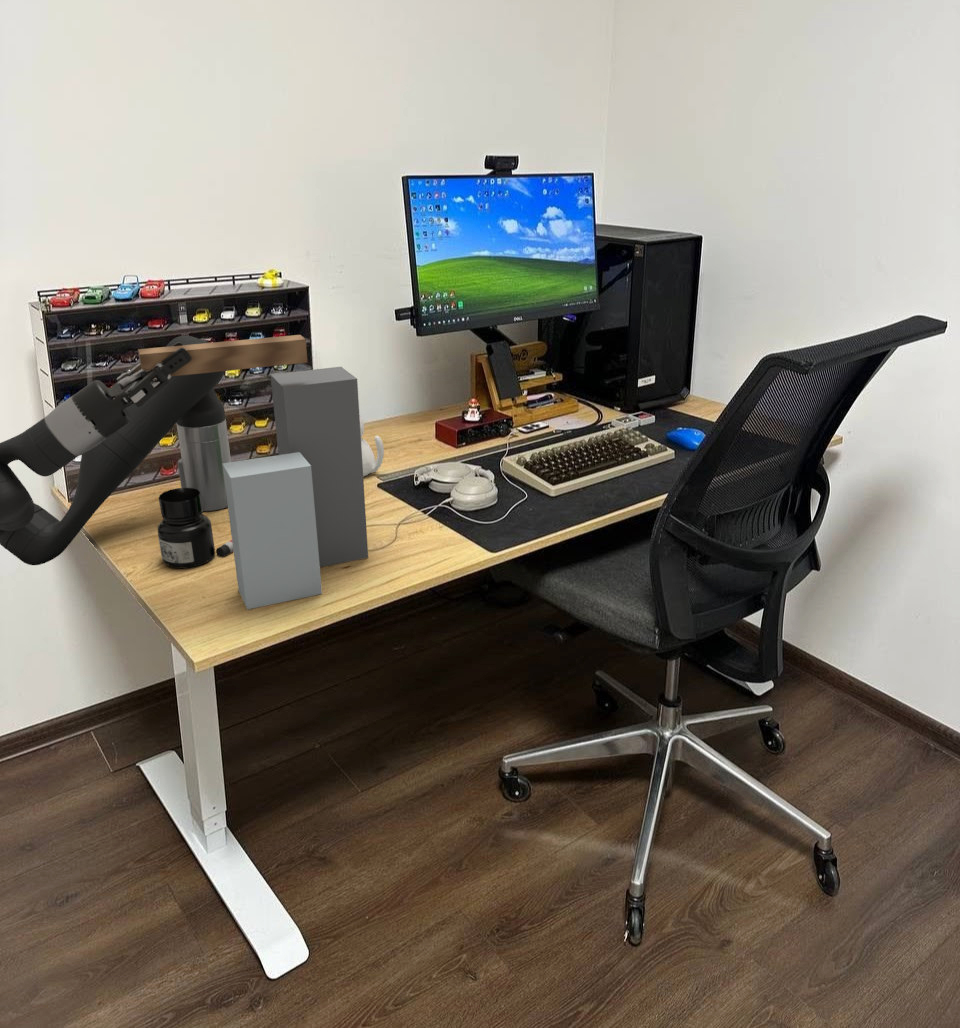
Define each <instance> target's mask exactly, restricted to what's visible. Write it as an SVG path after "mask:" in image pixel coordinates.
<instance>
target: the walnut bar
mask: <svg viewBox="0 0 960 1028" xmlns="http://www.w3.org/2000/svg"><path fill="white" fill-rule="evenodd" d="M179 348H185V350H186V351H187V352H188V353H189V355H190V356H191V361H190V362H188V363H187V364H186V365H184V366H183V367H181V368H180V369H178V370H177V371H176V372H174V373H173V374H171V373H170V374H171V375H172V376H180V375H190V374H199V373H209V372H219V371H225V372H228V371H235V370H246V369H258V368H265V367H266V368H267V367H268V368H269V367H278V366H287V365H296V364H297V365H298V364H306V363H307V364H308V351H307V350H308V349H307V339H306V338H305V337H304V336H302V335H301V334H295V335H284V336H271V337H263V338H262V337H261V338H250V339H249V338H248V339H241V340H239V339H238V340H237V339H236V340H227V341H217V342H209V343H203V344H192V345H183V346H170V347H166V346H162V347H161V346H160V347H149V348H148V347H147V348H140V349H139V348H138V349H137V352H138V353H137V354H138V357H139V362H140V365H141V369H144V368H146V369H150V368H151V367H152V366H154V365H155V364H156V363H159V362H161V363H162V360H164V359H165V358H167V357H168V356H169V355H171V354H172V353H174V352H175V351H176V350H178V349H179ZM162 364H163V363H162ZM143 378H144V377H143ZM154 378H156V377H155V376H154Z"/></svg>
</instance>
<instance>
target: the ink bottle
mask: <svg viewBox="0 0 960 1028" xmlns="http://www.w3.org/2000/svg"><path fill="white" fill-rule="evenodd" d="M158 502H159V503H158V504H159V508H160V514H161V517H162V520H161V521H160V522H159V523H158V525H157V537H158V544H159V545H158V546H159V549H160V556H161V559H162V562H163V564H164V565H167V566H169V567H172V568H176V569H188V568H194V567H197V566H200V565H203V564H206V563H208V562H209V561H211V560H212V559H213V558H214V557H215V556H216V549H215V542H214V534H213V528H212V522H211V520H210V518H209V517H208V516H206V515H204V514H203V512H204V511H203V509H202V508H203V507H202V500H201V493H200V491H199V490H197V489H194V488H181V487H176V488H173V489H169V490H166V491H163V492H162V493H161V494H159V496H158Z"/></svg>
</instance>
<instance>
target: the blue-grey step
mask: <svg viewBox="0 0 960 1028" xmlns="http://www.w3.org/2000/svg"><path fill="white" fill-rule="evenodd" d="M222 465H223V473H224V481H225V488H226V496H227V504H228V507H227V509H228V511H227V512H228V518H229V526H230V533H231V540H232V543H233V556H234V565H235V573H236V581H237V588H238V593H239V594H240V596H241V599H242V602H243V603H244V606H245V609H246V610H252V609H256V608H262V607H265V606H271V605H275V604H280V603H285V602H290V601H294V600H298V599H305V598H308V597H309V598H310V597H313V596H318V595H322V594H323V589H322V577H321V567H320V564H319V552H318V541H317V529H316V518H315V506H314V495H313V483H312V471H311V465H310V464H309V463H308V462H307V460H306V459H305V458H304V457H303V456H302V454H301V453H300V452H296V453H290V454H283V455H278V454H277V455H272V456H264V457H257V458H256V457H255V458H250V459H243V460H235V461H231V462H228V463H222Z"/></svg>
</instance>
